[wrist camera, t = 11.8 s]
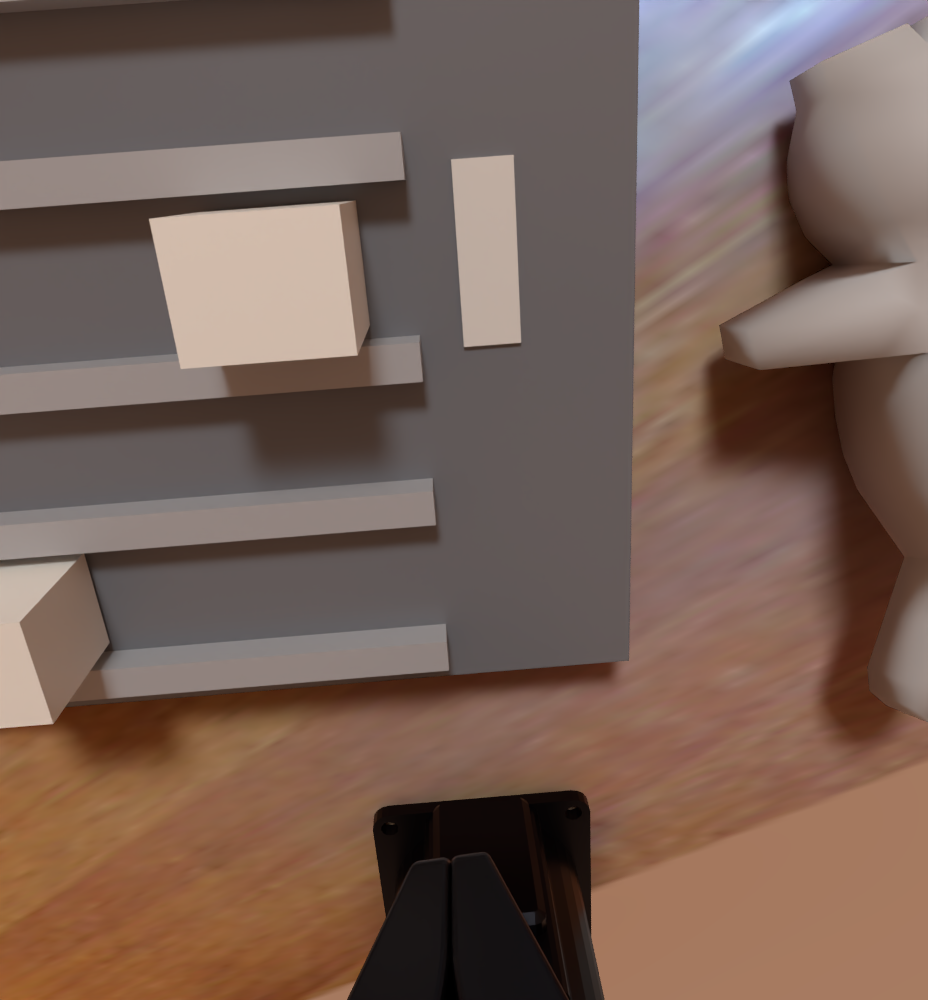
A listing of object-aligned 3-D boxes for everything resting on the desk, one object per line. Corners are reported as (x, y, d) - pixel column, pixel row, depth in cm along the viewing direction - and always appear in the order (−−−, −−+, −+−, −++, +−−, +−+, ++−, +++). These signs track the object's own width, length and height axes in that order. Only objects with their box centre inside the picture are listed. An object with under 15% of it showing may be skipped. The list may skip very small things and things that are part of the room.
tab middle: (369, 325, 16) (357, 355, 13) (224, 336, 16) (181, 368, 13) (355, 200, 15) (339, 204, 12) (200, 212, 15) (149, 218, 12)
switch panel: (611, 619, 21) (636, 679, 19) (-46, 672, 21) (-112, 741, 18) (616, -360, 14) (660, -486, 11) (-416, -292, 13) (-618, -406, 11)
